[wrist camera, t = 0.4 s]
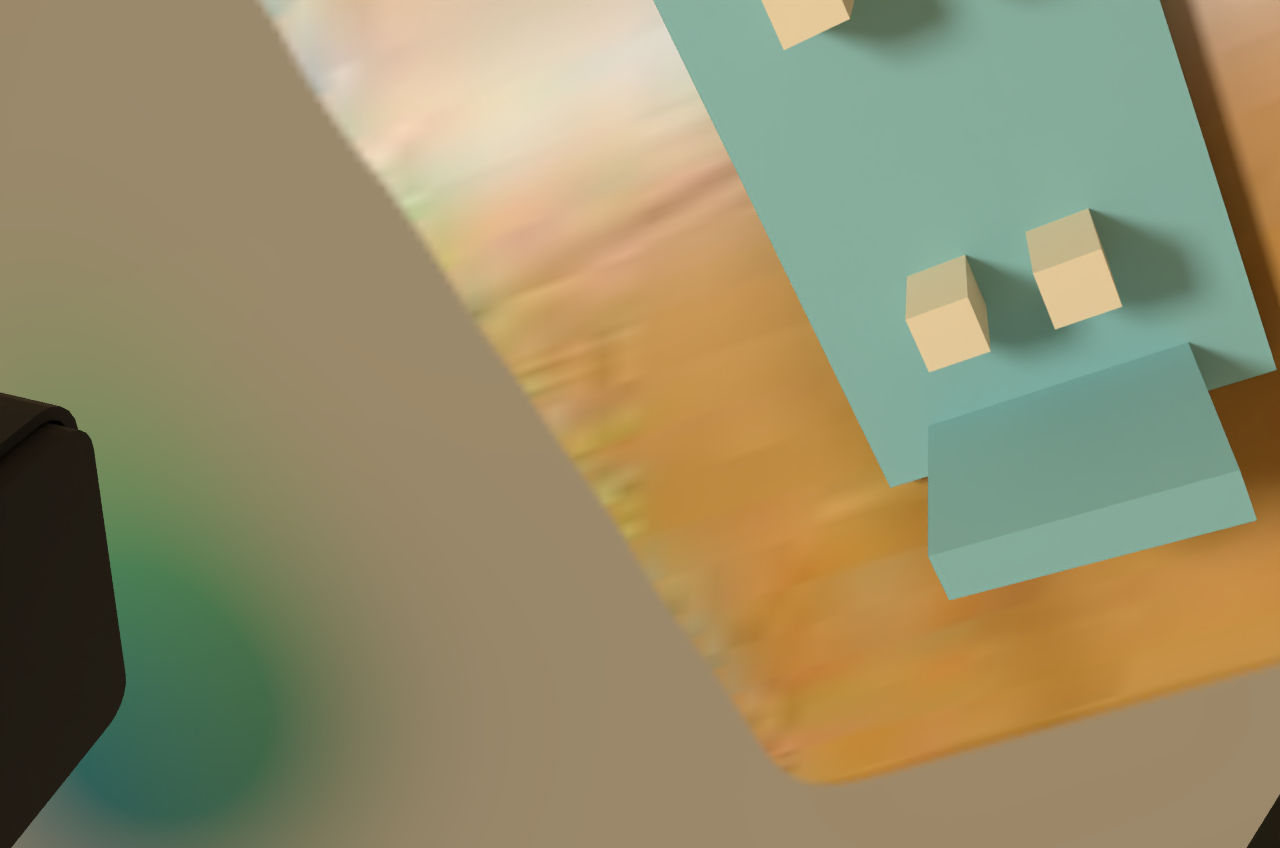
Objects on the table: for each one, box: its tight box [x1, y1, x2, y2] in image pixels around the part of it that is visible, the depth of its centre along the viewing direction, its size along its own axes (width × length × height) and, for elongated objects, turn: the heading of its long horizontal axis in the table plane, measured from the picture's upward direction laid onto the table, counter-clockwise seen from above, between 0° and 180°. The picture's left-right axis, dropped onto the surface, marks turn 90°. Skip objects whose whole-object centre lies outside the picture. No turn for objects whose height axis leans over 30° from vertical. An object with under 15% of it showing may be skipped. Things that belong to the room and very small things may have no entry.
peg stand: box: [653, 0, 1277, 600], centre depth 31 cm, size 22×12×8 cm, turn 28°
